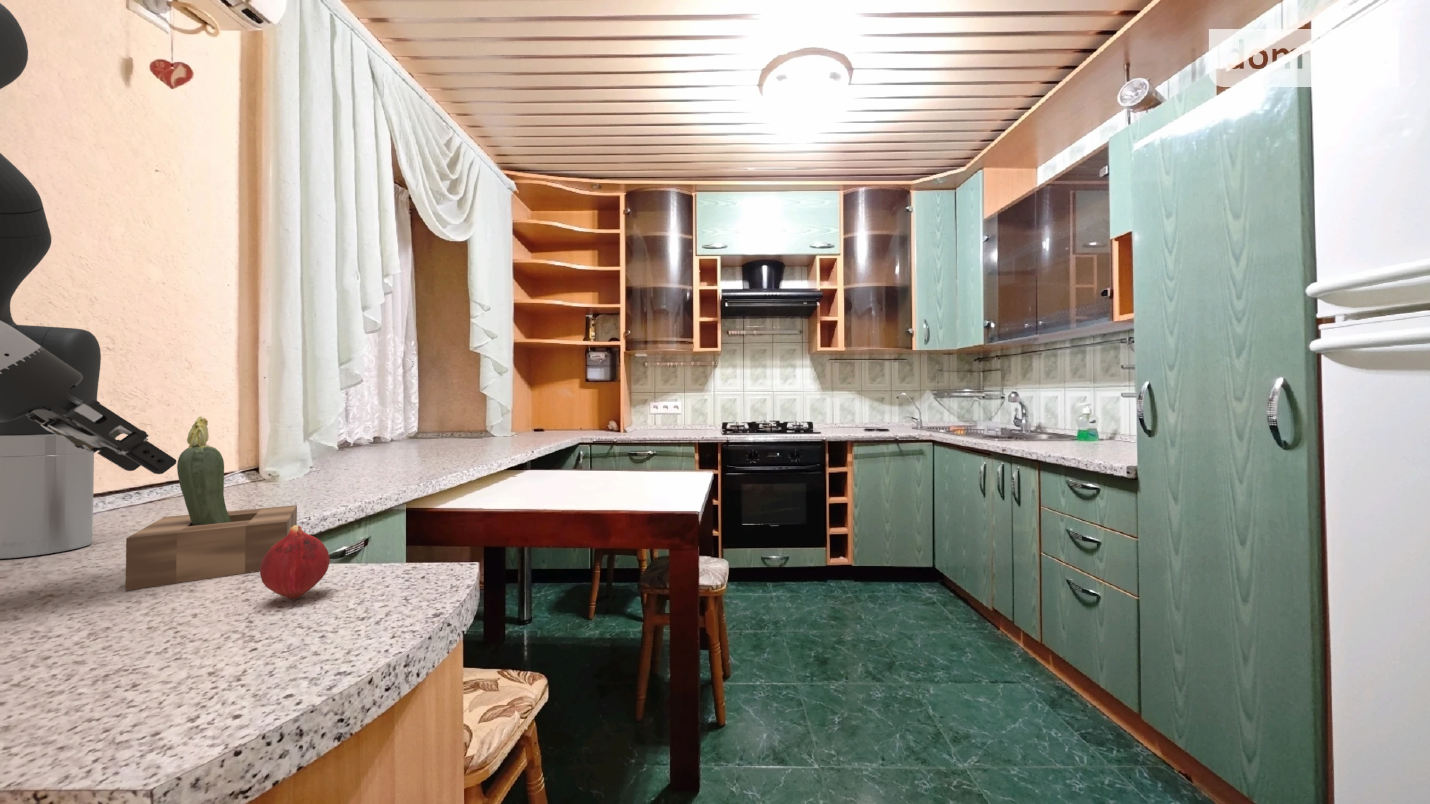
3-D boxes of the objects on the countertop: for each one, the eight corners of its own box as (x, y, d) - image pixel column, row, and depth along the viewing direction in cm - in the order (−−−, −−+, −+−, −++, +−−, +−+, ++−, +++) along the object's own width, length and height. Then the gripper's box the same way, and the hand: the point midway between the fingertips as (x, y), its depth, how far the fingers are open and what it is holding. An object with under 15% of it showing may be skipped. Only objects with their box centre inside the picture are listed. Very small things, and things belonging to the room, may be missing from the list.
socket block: (163, 560, 68) (164, 516, 68) (296, 543, 76) (296, 505, 76) (125, 590, 56) (126, 538, 56) (286, 567, 65) (287, 521, 65)
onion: (340, 594, 55) (341, 522, 55) (277, 613, 50) (278, 534, 50) (311, 586, 58) (312, 518, 58) (248, 603, 52) (249, 528, 52)
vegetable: (212, 570, 63) (182, 417, 62) (187, 571, 64) (157, 420, 63) (251, 556, 68) (223, 413, 66) (227, 557, 68) (199, 416, 67)
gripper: (58, 339, 50) (210, 445, 60) (16, 347, 56) (160, 442, 66) (-39, 389, 45) (145, 496, 55) (-73, 393, 51) (97, 488, 61)
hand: (153, 467), depth 60 cm, fingers open, 8 cm apart
